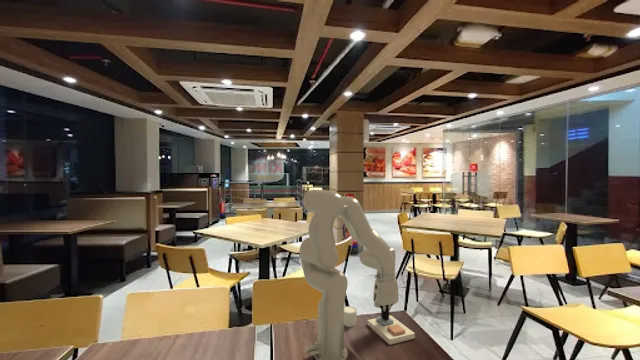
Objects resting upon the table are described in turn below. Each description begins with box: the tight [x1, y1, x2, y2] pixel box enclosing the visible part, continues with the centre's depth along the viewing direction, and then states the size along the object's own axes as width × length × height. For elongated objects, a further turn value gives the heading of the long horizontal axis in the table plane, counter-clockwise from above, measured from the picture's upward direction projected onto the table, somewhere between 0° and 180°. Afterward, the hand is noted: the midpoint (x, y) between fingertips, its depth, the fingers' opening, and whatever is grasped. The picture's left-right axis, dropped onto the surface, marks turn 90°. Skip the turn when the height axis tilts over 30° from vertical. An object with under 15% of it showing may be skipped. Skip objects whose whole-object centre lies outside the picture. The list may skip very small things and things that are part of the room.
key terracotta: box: [387, 324, 405, 336], centre depth 121 cm, size 5×5×2 cm
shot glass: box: [344, 305, 358, 328], centre depth 131 cm, size 7×7×7 cm
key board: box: [367, 314, 416, 345], centre depth 125 cm, size 12×16×3 cm
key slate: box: [375, 315, 393, 326], centre depth 129 cm, size 5×5×2 cm
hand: (385, 318), depth 129 cm, fingers closed
